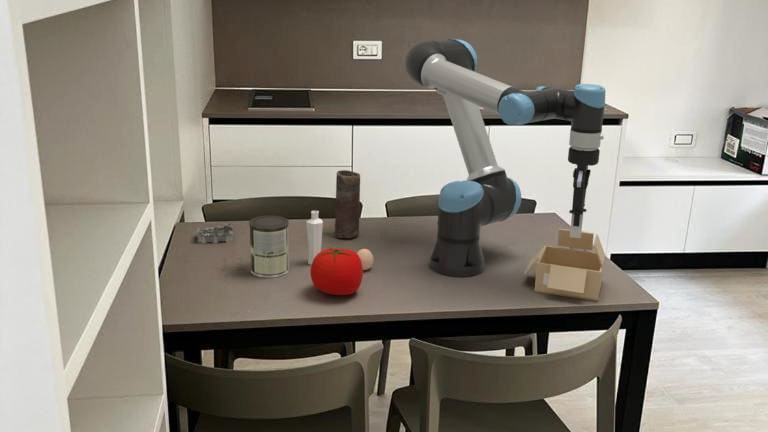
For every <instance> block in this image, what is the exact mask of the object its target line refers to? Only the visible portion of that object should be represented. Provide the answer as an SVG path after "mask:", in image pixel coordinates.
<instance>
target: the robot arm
mask: <svg viewBox="0 0 768 432" xmlns="http://www.w3.org/2000/svg"><path fill="white" fill-rule="evenodd" d="M403 65H404V70H405V73H406V75H407V76H408V77H409V79H410V80H411V81H412V82H414V83H416V84H417V85H420V86H422V87H424V88H427V89H434V88H435V92H436V93H437V94H439V95H441V96H442V97H443V99H444V103H445V105H446V108H447V112H448V115H449V117H450V118H449V119H450V120H451V124H452V128H453V130H454V131H453V132H454V133H455V137H456V140H457V142H458V146H459V149H460V152H461V156H462V158H463V161H464V162H463V163H464V164H465V168H466V171H467V173H468V174H467V175H468V176H467V178H466V180H462V181H461V180H456V181H451V182H448V183H447V184H444V185H443V186H442V187H441V190H440V191H439V198H438V201H437V204H438V211H437V234H436V240H435V244H434V245H433V249H432V251H431V253H430V256H429V265H428V266H429V268H430V270H432V271H435V272H436V273H439V274H442V275H445V276H451V277H471V276H476V275H478V274H480V273H482V272H483V271H484V269H485V259H484V255H483V250H482V246H481V244H480V236H481V227H483V226H487V225H491V224H495V223H497V222H504V221H505V220H507V219H509V218H511V217H513V216H514V215H515V214H516V213H517V212H518V211H519V209H520V206H521V204H522V192H521V189H520V187H519V184H518V182H517V181H514V179H512V178H510V177H508V176H507V175H508V174H507V172H506V170H505V169H504V168H503V167H501V166H499V165H498V162H497V159H496V155H495V154H494V153H495V152H494V149H493V147H492V144H491V140H490V138H489V135H488V132H487V128H486V125H485V122H484V119H483V116H482V113H481V110H480V107H481V108H483V109H486V110H488V111H490V112H493V113H494V114H498V116H499V118H500V119H501V120H502V121H503V123H505V124H507V125H509V126H522V125H525V124H529V123H536V122H541V121H547V120H553V119H555V120H556V119H557V120H562V121H563V120H564V121H568V122H570V131H569V132H570V133H569V143H568V145H569V146H570V147H569V148H568V153H567V154H568V156H567V161H568V162H569V164H572V165H575V166H576V167H575V168H574V170H573V172H572V173H573V174H572V178H573V180H572V181H573V183H572V187H573V194H572V207H571V209H569V213H568V214H571V220H570V221H571V222H570V229H569V230H570V237H574V238H581V231H582V228H583V220H584V213H587V209H586V208H585V206H586V204H585V203H586V196H587V195H586V194H587V188H588V185H589V180H590V176H591V169H589V166H590V167H591V166H596V165H598V164H599V162H600V161H599V160H600V149H599V148H601V142H602V141H601V140H604V138H605V137H604V135H602V132H603V121H604V115H605V114H604V112H605V107H606V92H607V91H606V89H605V87H604V86H602V85H600V84H592V83H591V84H590V83H580V84H577V85H576V86H575V87H574V90H568V89H564V88H563V89H562V88H558V87H554V86H542V85H541V86H537V87H536V88H535V89H534V90H533V91H524V90H521V89H520V88H519V89H518V88H516V87H514V86H512V85H509V84H506V83H504V82H501V81H499V80H497V79H493V78H491V77H489V76H486V75H483V74H481V73H478V72H477V66H478V56H477V53H476V51H475V49H474V48H473V46H472V45H471V44H470V43H469V42H467V41H465V40H463V39H456V38H447V39H438V40H423V41H419V42H417V43H415V44H413V45H412V46H411V47H410V48H409V49H408V51H407V52H406V54H405V57H404V62H403Z"/></svg>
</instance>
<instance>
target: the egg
mask: <svg viewBox="0 0 768 432" xmlns="http://www.w3.org/2000/svg"><path fill="white" fill-rule="evenodd" d="M356 253H357V254H358V255H359V257H360V259H361V263H362V268H363V271H365V270H366V271H367V270H369V269H370V268H372V266H373V265H374V261H375V260H374V255H373V254H372V252H371V250H369V249H367V248H362V249H361V248H360V250H358V251H357V252H356Z"/></svg>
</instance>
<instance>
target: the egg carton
mask: <svg viewBox="0 0 768 432" xmlns="http://www.w3.org/2000/svg"><path fill="white" fill-rule="evenodd" d="M196 229H197V230H196V234H197V243H200V242H201V243H200V244H202V243H204V244H207V243H213V244H217V243H219V242H224V241H225V242H224V243H230V242H233V241H234V228H233V224H232V223H231V222H229V223H227V222H226V223H223V224H222V223H221V225H220V226H219V225H217V226H214V227H206V228H198V227H197V228H196Z"/></svg>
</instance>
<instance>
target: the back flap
mask: <svg viewBox="0 0 768 432" xmlns="http://www.w3.org/2000/svg"><path fill="white" fill-rule="evenodd" d="M594 234H595V233H594V232H589V231H581V238H574V237H570V229H568V228H567V229H566V228H559V227H558V239H557V241H558V242H557V247H558V246H559V247H564V248H570V247H572V248H579V249H587V251H593V247H594Z"/></svg>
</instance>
